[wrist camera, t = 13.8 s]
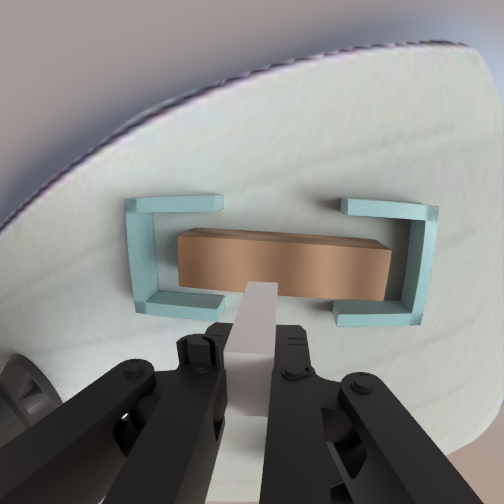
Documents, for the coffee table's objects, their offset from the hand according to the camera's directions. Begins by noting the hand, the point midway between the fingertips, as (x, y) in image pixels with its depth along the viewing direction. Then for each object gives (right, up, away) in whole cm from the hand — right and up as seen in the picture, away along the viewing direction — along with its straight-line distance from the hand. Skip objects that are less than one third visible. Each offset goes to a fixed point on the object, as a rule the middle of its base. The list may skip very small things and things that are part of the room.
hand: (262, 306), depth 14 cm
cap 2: (+11, +2, +9) cm, 14 cm away
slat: (+2, +3, +10) cm, 11 cm away
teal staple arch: (-7, +3, +11) cm, 13 cm away
